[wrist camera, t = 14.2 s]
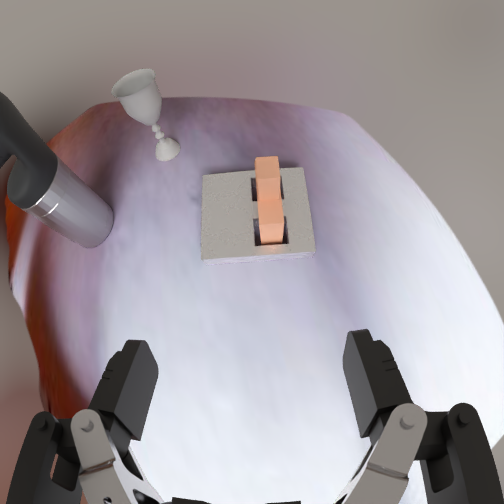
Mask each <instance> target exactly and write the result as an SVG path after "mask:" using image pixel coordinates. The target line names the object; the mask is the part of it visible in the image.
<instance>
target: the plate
mask: <svg viewBox="0 0 504 504" xmlns="http://www.w3.org/2000/svg"><path fill="white" fill-rule="evenodd" d="M279 170H280V186H281V190H282V207H283V217H284V224H285V226H286V235H287V244H279V245H265V246H255V230H254V227H256V226H259V216H258V202H257V201H253V198H252V188H253V187H256V175H255V170H251V171H240V172H229V173H219V174H210V175H203V182H202V218H201V260H202V261H203V262H204V263H205V265H215V264H230V263H244V262H259V261H273V260H287V259H300V258H313V256H314V254H315V252H316V250H315V242H314V234H313V227H312V220H311V213H310V207H309V200H308V194H307V188H306V182H305V176H304V170H303V167H299V168H280V169H279Z"/></svg>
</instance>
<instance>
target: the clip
mask: <svg viewBox="0 0 504 504" xmlns="http://www.w3.org/2000/svg"><path fill="white" fill-rule="evenodd" d="M255 175H256V188H257V202H258V216H259V228H260V237H261V246H265V245H279V244H282V239H283V230H284V217H283V207H282V199H281V190H280V170H279V162H278V156H269V157H256V160H255Z"/></svg>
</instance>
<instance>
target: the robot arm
mask: <svg viewBox="0 0 504 504" xmlns="http://www.w3.org/2000/svg"><path fill="white" fill-rule="evenodd" d="M12 154H13V155H15V156H16V157H17V160H16V162H15V164H14V166H13V169H12V171H11V173H10V176H9V180H8V184H7V185H8V186H7V194H8V197H9V199H10V201H11V202H12V203H14V204H15V205H16V206H18V207H19V208H21V209H22V210H24V211H26V212H27V213H29V214H30V215H32V216H33V217H35V218H37V219H38V220H40V221H41V222H43V223H44V224H45V225H47V226H48V227H50V228H51V229H53V230H55V231H56V232H58V233H60V234H61V235H63V236H65V237H66V238H68V239H70V240H71V241H73V242H76V243H78V244H79V245H81V246H83V247H85V248H93V247H96V246H98V245H99V244H101V243H102V242H103V241H104V240H105V239H106V237H107V236H108V235H109V233H110V231H111V228H112V225H113V218H114V216H113V211H112V209H111V207H110V206H109V205H108V204H107V203H106V202H105V201H104V200H102V199H101V198H100V197H99V196H98V195H97V194H96V193H95V192H94V191H93V190H92V189H91V188H90V187H89V186H87V185H86V184H85V183H84V182H83V181H82V180H81V179H80V178H79V177H78V176H77V175H76V174H75V173H74V172H73V171H72V170H71V169H70V168H69V167H68V166H67V165H66V164H65V163H64V162H63V161H62V160H61V159H60V158H59V157H58V156H57V155H56V154H55V153H54V152H53V151H52V150H51V149H50V148H49V147H48V146H47V145H46V144H45V142H44V141H43V140H42V139H41V138H40V136H39V135H38V134H37V133H36V132H35V131H34V130H33V129H32V128H31V127H30V125H29V124H28V123H27V122H26V120H25V119H24V118H23V116H22V115H21V114H20V113H19V111H18V110H17V108H16V107H15V106H14V105H13V103H12V102H11V101H10V100H9V99H8V98H7V97H6V96H5V95H4V94H3V93H1V92H0V168H1V167H2V166H3V165H4V163H5V162H6V161H7V160H8V159H9V158H10V156H11V155H12ZM343 369H344V373H345V377H346V381H347V385H348V388H349V392H350V396H351V400H352V404H353V408H354V412H355V416H356V420H357V424H358V428H359V432H360V437H361V438H364V437H370V441H371V445H370V446H369V448H368V450H367V452H366V454H365V456H364V457H363V459H362V461H361V463H360V464H359V466H358V468H357V469H356V471H355V473H354V474H353V476H352V478H351V479H350V481H349V482H348V484H347V485H346V487H345V488H344V489H343V491H342V492H341V493H340V495H339V496H338V497H337V499H336V500H335V502H334V503H333V504H398V503H399V501H400V499H401V497H402V495H403V493H404V491H405V489H406V487H407V485H408V481H409V478H408V472H409V470H410V467H411V465H412V463H413V461H414V460H420V465H421V470H422V475H423V480H424V485H425V491H426V496H427V503H428V504H504V499H503V494H502V490H501V485H500V481H499V477H498V473H497V469H496V465H495V462H494V458H493V455H492V452H491V449H490V446H489V443H488V440H487V437H486V434H485V431H484V428H483V426H482V423H481V420H480V418H479V415H478V413H477V411H476V409H475V408H474V407H473V406H472V405H470V404H467V403H459V404H456V405H455V406H453V407H452V408H451V409H450V411H448V412H428V411H424V410H423V409H422V408H421V407H420V406H418V405H415V404H414V403H413V401H412V400H411V397H410V395H409V392H408V390H407V388H406V385H405V383H404V380H403V378H402V376H401V373H400V371H399V369H398V366H397V364H396V362H395V361H394V357H393V355H392V353H391V351H390V348H389V347H388V346H386V345H385V344H384V343H383V342H382V341H381V340H377V341H373V339H372V336H371V334H370V332H369V330H368V329H363V330H356V331H349V332H348V335H347V340H346V345H345V349H344V354H343ZM157 379H158V365H157V363H156V360H155V358H154V356H153V354H152V352H151V350H150V348H149V346H148V344H147V342H146V341H145V340H127V341H126V343H125V345H124V347H123V349H122V351H117V352H116V353H115V354H114V355H113V357H112V358H111V359H110V360H109V362H108V364H107V366H106V369H105V371H104V373H103V375H102V379H101V380H100V382H99V384H98V386H97V389H96V391H95V393H94V396H93V398H92V400H91V403H90V405H89V407H88V409H85V410H81V411H79V412H78V413H77V414H75V416H74V417H73V418H69V419H56V418H55V417H54V416H53V415H52V414H51V413H49V412H46V411H43V412H40V413H38V414H36V415H35V416H34V418H33V419H32V421H31V424H30V427H29V429H28V432H27V434H26V437H25V440H24V443H23V446H22V448H21V451H20V454H19V457H18V461H17V464H16V467H15V470H14V474H13V477H12V481H11V485H10V489H9V493H8V497H7V502H6V504H80V501H81V496H82V490H83V492H84V495H85V497H86V500H87V502H88V504H210V503H207V502H204V501H198V500H189V499H182V498H176V497H172V502H165V503H164V501H163V499H162V498H161V496H160V495H159V494H158V492H157V491H156V490H155V489H154V488H153V487H152V486H151V484H150V483H149V482H148V480H147V478H146V477H145V475H144V473H143V471H142V469H141V467H140V465H139V463H138V461H137V459H136V457H135V455H134V453H133V451H132V449H131V447H130V446H129V444H130V440H131V439H132V440H138V441H140V440H141V436H142V432H143V428H144V425H145V421H146V417H147V414H148V410H149V406H150V403H151V399H152V396H153V392H154V389H155V385H156V382H157ZM55 454H58V459H57V462H56V466H55V470H54V473H53V477H52V480H51V478H50V472H51V468H52V464H53V461H54V457H55ZM267 504H301V501H294V502H281V503H267Z"/></svg>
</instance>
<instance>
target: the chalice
mask: <svg viewBox="0 0 504 504" xmlns="http://www.w3.org/2000/svg"><path fill="white" fill-rule="evenodd" d="M155 75H156V74H155V71H153V70H152V69H141V70H137V71H134V72H131V73H129V74H127V75H125V76H124V77H122V78H121V79H120V80H118V81H117V82H116V84H115V85H114V86H113V88H112V91H111V93H112V95H113V96H114V97H116V98H118V99H119V101H120V102H121V104H122V106H123V108H124V109H125V111H126V113H127V114H128V115H129V116H131V117H132V118H134V119H135V120H137V121H139V122H141V123H143V124H145V125H152V131H153V132H155V133H156V135H155V138H156V139H159V142H158V143H157V145H156V158H157V159H158V160H160V161H169V160H171V159H173V158H174V157H176V156H177V155H178V153H179V151H180V145H179V144H178V143H177V142H175V141H174V140H173V139H171V138H164V137H163V136H164V132H161V131H160V128H161V127H160V126H159V125H157V123H156V122H157V121H158V120H159V117H160V112H161V107H162V97H161V94H160V92H159V89H158V87H157V85H156V82H155Z"/></svg>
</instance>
